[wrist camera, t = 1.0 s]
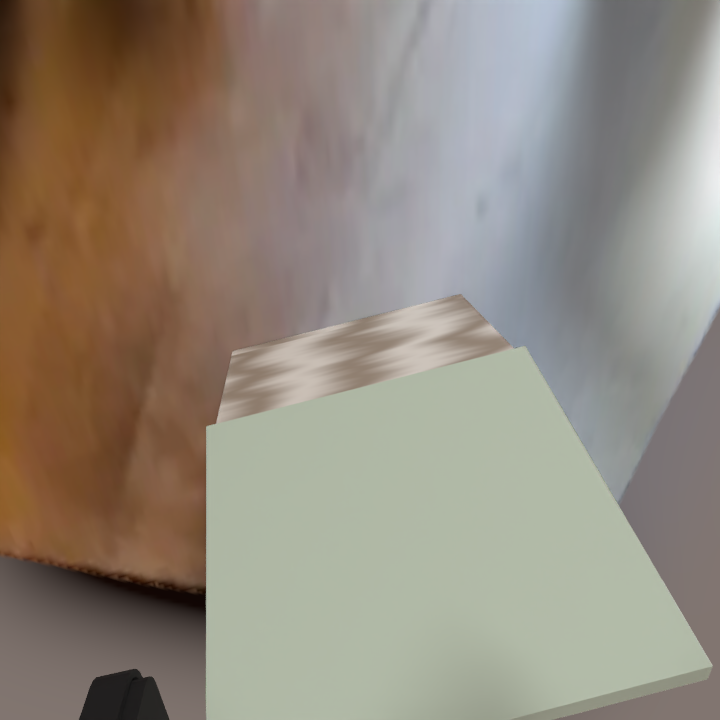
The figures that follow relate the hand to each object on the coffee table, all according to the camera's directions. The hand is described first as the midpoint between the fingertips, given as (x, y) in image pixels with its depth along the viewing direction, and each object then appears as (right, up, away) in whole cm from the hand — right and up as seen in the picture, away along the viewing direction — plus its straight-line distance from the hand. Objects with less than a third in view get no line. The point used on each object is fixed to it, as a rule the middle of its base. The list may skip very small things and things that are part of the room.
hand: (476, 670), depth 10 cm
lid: (0, -3, +19) cm, 19 cm away
